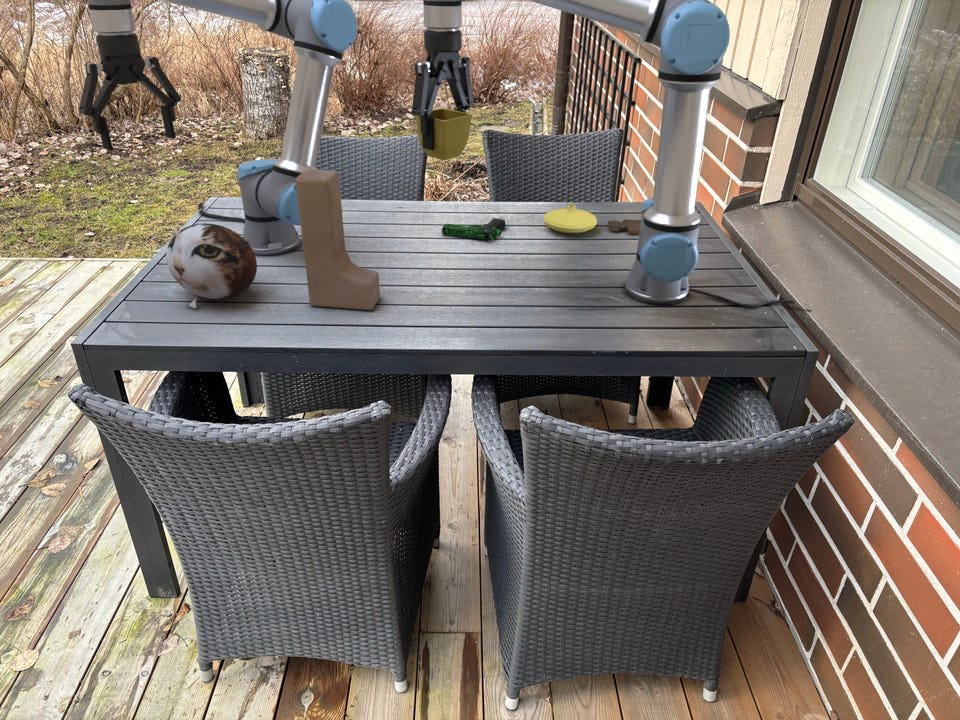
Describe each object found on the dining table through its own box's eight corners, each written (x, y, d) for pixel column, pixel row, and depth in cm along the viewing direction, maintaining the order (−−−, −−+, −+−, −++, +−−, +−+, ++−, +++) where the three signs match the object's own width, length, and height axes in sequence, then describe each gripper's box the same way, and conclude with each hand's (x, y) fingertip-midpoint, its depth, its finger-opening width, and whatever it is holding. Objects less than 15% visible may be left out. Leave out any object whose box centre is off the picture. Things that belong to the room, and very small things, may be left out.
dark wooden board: (699, 237, 207) (691, 225, 216) (700, 231, 206) (692, 220, 215) (610, 234, 207) (606, 222, 216) (611, 228, 207) (607, 217, 215)
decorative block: (372, 311, 163) (363, 181, 148) (309, 306, 165) (293, 177, 149) (380, 297, 169) (373, 171, 154) (319, 292, 171) (306, 168, 156)
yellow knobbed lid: (559, 216, 220) (561, 193, 217) (605, 227, 212) (608, 204, 209) (532, 230, 209) (533, 207, 206) (580, 242, 201) (582, 218, 198)
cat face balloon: (130, 285, 161) (164, 203, 163) (192, 308, 177) (221, 233, 178) (195, 307, 151) (229, 220, 152) (254, 330, 166) (285, 250, 168)
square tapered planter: (472, 156, 154) (473, 113, 150) (444, 165, 149) (444, 120, 144) (443, 149, 159) (442, 107, 155) (415, 157, 153) (413, 113, 149)
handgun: (511, 219, 210) (493, 234, 198) (511, 228, 211) (492, 244, 199) (461, 212, 215) (440, 226, 203) (461, 221, 217) (440, 236, 204)
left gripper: (166, 26, 150) (186, 130, 160) (40, 36, 133) (72, 151, 144) (185, 29, 145) (204, 136, 156) (57, 40, 129) (88, 158, 140)
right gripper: (465, 23, 150) (464, 133, 162) (389, 31, 136) (394, 151, 148) (492, 26, 146) (490, 139, 157) (417, 35, 132) (420, 157, 143)
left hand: (140, 143), depth 150 cm, fingers open, 13 cm apart
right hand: (444, 144), depth 153 cm, fingers closed on square tapered planter, 9 cm apart
